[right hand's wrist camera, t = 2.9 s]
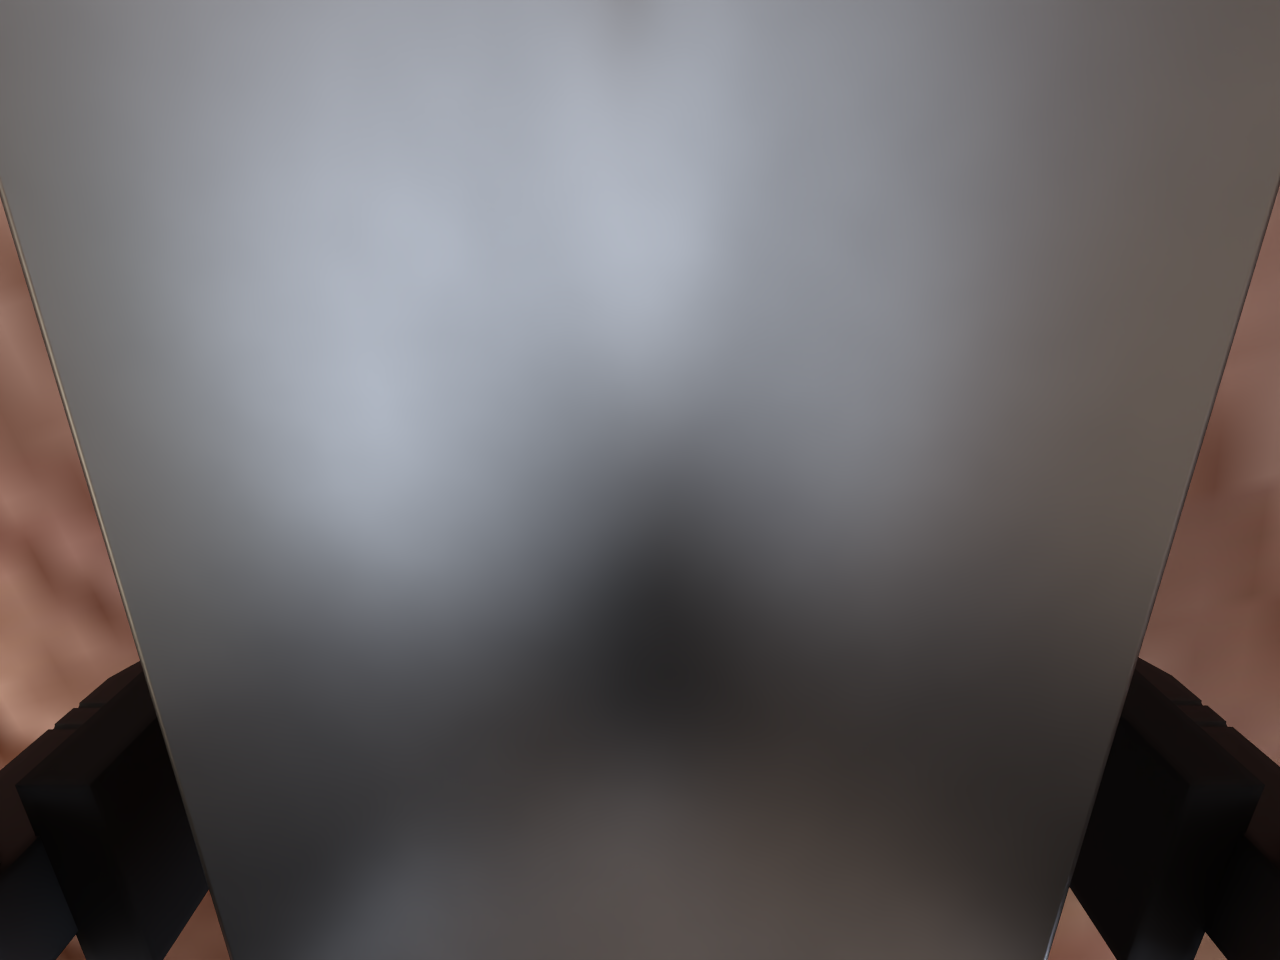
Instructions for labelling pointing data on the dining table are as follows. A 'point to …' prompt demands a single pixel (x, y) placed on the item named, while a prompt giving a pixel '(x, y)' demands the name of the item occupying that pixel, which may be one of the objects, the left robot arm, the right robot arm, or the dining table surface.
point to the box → (638, 442)
